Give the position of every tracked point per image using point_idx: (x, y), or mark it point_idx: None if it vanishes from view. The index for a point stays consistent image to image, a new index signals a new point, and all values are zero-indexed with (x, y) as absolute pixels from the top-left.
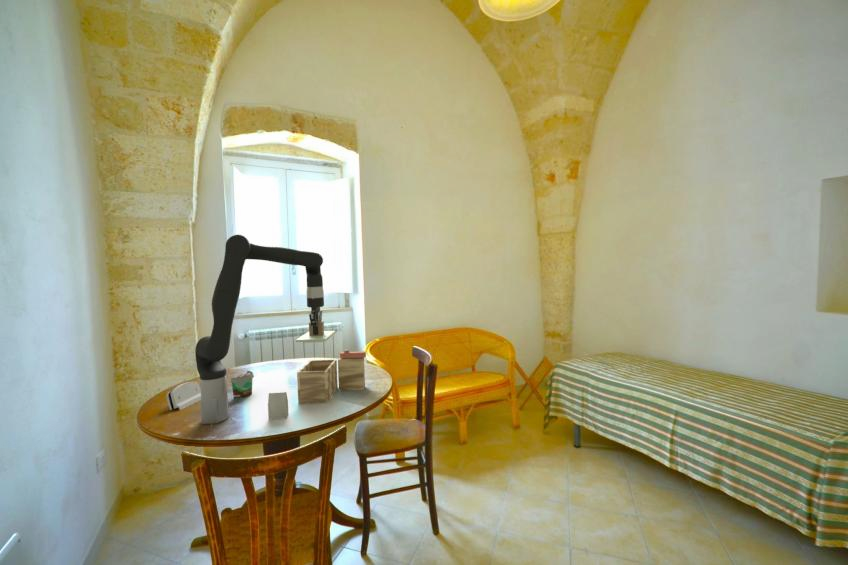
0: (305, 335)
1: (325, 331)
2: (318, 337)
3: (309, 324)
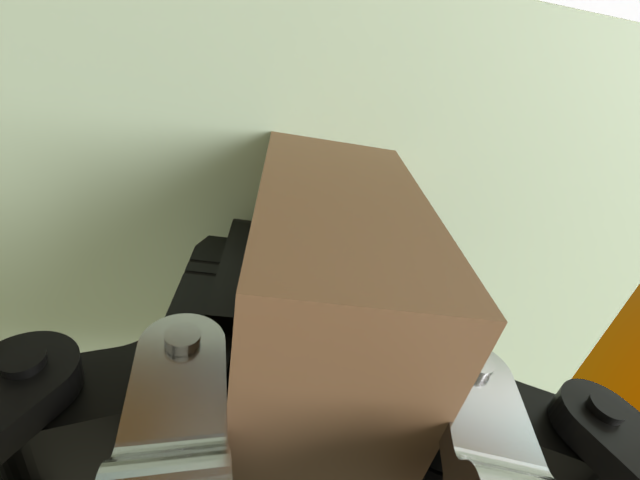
0: (337, 40)
1: (570, 328)
2: (93, 291)
3: (241, 271)
